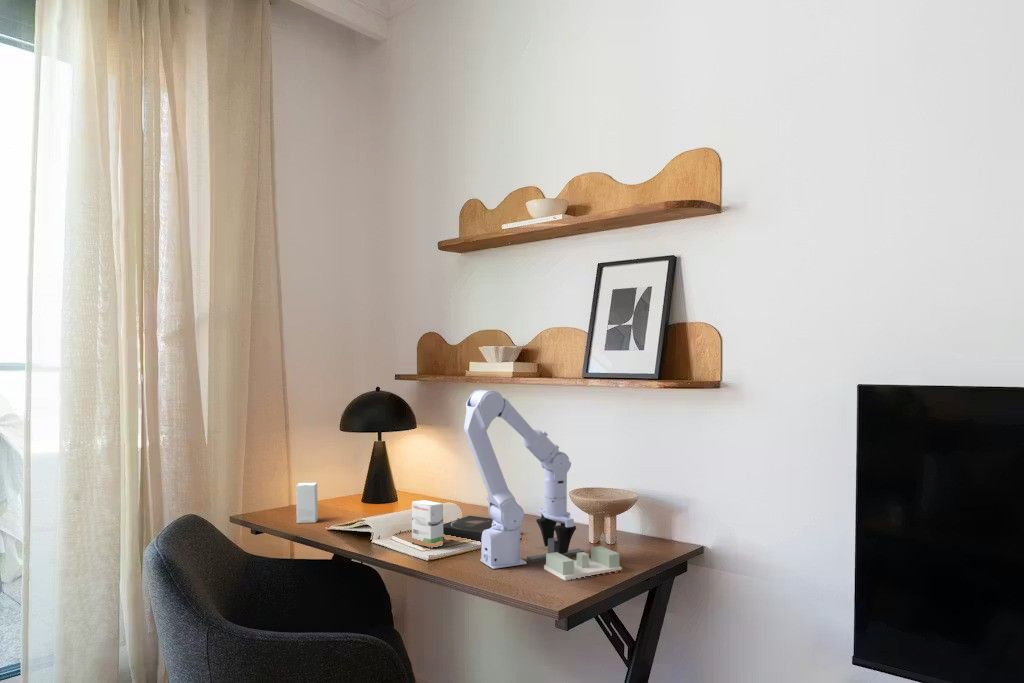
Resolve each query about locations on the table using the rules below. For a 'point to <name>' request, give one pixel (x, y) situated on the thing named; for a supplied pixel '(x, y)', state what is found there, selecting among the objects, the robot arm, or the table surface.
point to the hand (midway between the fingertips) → (555, 549)
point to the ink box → (427, 521)
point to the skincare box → (306, 502)
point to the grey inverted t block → (551, 549)
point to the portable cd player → (468, 527)
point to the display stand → (582, 563)
